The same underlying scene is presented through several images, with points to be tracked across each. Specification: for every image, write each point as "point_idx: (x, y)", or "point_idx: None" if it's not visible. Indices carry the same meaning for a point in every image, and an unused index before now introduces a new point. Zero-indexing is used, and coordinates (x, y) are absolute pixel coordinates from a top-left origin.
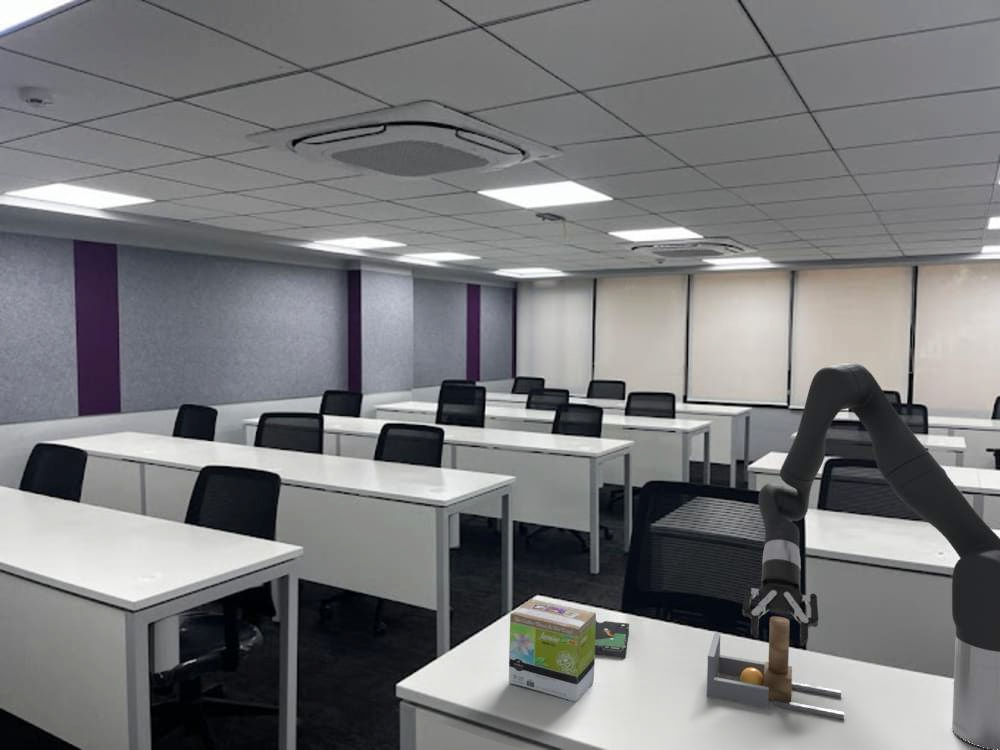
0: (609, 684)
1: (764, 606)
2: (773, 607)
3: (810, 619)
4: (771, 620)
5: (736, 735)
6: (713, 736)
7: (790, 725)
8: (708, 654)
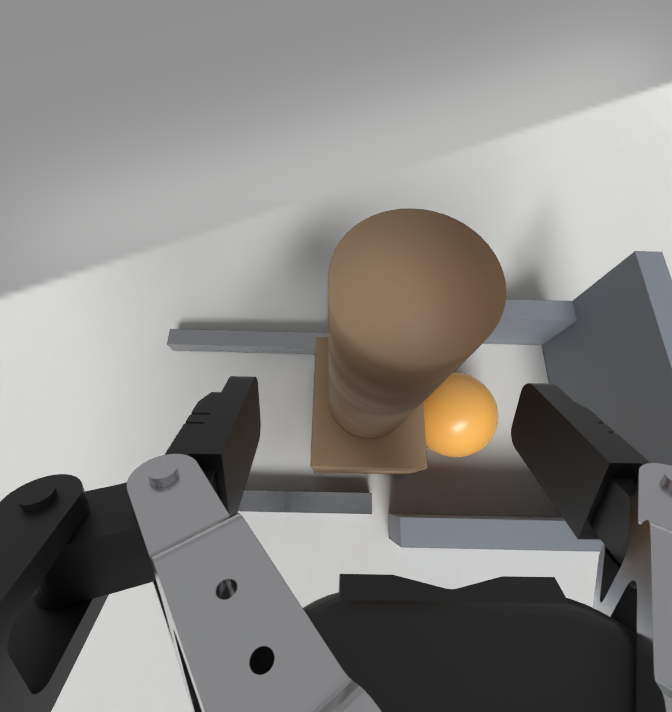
0: None
1: (650, 529)
2: (535, 588)
3: (99, 517)
4: (482, 241)
5: (442, 177)
6: (487, 159)
7: (323, 258)
8: (665, 265)
